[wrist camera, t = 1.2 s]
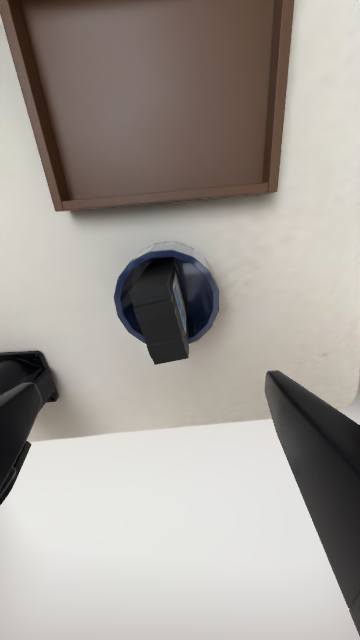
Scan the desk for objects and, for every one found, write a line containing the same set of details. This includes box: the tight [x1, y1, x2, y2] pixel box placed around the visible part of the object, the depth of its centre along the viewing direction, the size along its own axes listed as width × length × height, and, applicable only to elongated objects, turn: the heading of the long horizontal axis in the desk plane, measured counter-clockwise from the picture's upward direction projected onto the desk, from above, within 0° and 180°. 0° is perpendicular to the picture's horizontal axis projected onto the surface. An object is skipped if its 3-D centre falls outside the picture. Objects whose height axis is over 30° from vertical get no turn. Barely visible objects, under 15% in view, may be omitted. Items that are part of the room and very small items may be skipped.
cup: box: [114, 242, 219, 344], centre depth 19 cm, size 8×8×4 cm
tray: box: [0, 0, 294, 211], centre depth 14 cm, size 15×11×2 cm
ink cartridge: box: [129, 257, 189, 365], centre depth 17 cm, size 5×2×8 cm, turn 14°
